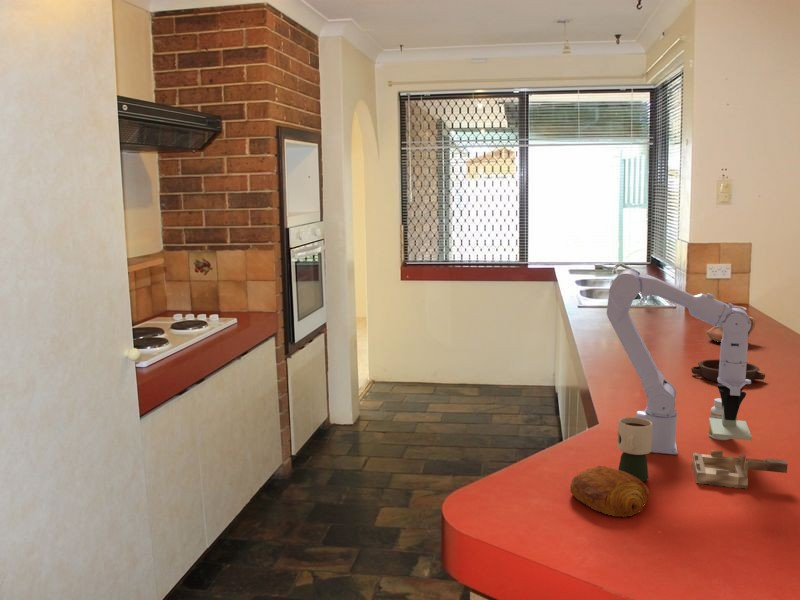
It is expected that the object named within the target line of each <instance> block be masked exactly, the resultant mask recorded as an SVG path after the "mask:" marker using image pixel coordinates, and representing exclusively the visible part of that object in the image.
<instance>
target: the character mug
mask: <svg viewBox="0 0 800 600" xmlns="http://www.w3.org/2000/svg"><path fill="white" fill-rule="evenodd" d="M617 425H618V426H617V441H616V446H617V449H618V450H620V451H621V452H622V453H621V456H620V460H619V463H618V469H617V470H621V471H624V472H627V473H629V474H631V475H633V476H635V477H637V478H638V479H640V480H641V481H642V482H643V483H644V482H646V481H648V479H649V468H648V466H649V465H648V459H647V456H646V455H647V454H650V453H652V452H651V448H652V429H653V423H652V422H651V421H650V420H647V419H643V418H638V417H636V416H626V417H621V418H619V419H618V423H617Z"/></svg>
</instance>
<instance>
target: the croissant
mask: <svg viewBox="0 0 800 600" xmlns="http://www.w3.org/2000/svg"><path fill="white" fill-rule="evenodd" d="M570 493H571V494H572V496H573V497H574V498H575V499H576V500H578V501H580V502H581V503H583V504H584V505H585V504H586V505H585V506H587V507H589V508H590V507H591V508H590V509H592V510H594V511H596V512H598V511H599V512H598V513H600V512H602V514H605V515H606V514H608V515H607V516H610V515H612V516H611V517H621V516H622V518H627V517H626V516H631V517H633V516H634V514H635V515H636V514H638V513H640V512H642V511H643V509H644V508H643V505H644V504H645V505H646V504H647V502H648V501H649V499H648V496H647V495H649V494H651V493H650V490H649V487H648V486H647V485H646V484H645V483H644V481H643V482H642V481H641V480H640V479H638V478H637V477H635V476H633V475H631V474H629V473H627V472H624V471H621V470H618V469H616V468H612V467H608V466H607V467H606V466H602V465H598V466H594V467H591V468H590V467H589V468H586V469H585V470H584V471H582V472H581V471H580V472H579V473H577V475H575V476H574V477H573V478H572V480H571V483H570ZM639 511H640V512H639ZM632 515H633V516H632ZM624 516H625V517H624Z"/></svg>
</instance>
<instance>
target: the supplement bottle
mask: <svg viewBox="0 0 800 600" xmlns="http://www.w3.org/2000/svg"><path fill="white" fill-rule="evenodd" d="M713 400H714V401H713V406H712V407H711V408H710V414H709V415H710V417H709V418H716V419H722V401H721V397H719V398H718V397H717V398H714V399H713ZM708 427H709V428H708V429H709V430H708V436H709V437H710V438H711V439H713V440H718V441H729V440H731V438H720V437H713V435H712V431H711V427H710V425H709V426H708Z"/></svg>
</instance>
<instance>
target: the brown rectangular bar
mask: <svg viewBox="0 0 800 600" xmlns="http://www.w3.org/2000/svg"><path fill="white" fill-rule="evenodd" d="M745 461H747V462H748V470H752V471H763V472H773V473H782V474H783V473H785V474H787V473H788V462H787V460H786V459H778V458H777V459H775V458H769V457H768V458H765V459H757V458H750V457H749V458H748V457H746V459H745Z"/></svg>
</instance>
